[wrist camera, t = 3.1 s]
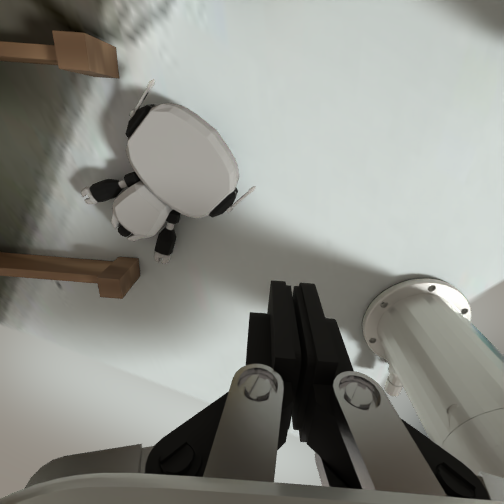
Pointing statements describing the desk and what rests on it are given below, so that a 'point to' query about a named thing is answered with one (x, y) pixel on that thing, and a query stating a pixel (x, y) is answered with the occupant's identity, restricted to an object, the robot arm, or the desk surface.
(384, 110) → the desk surface
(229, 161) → the robot toy
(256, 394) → the robot arm
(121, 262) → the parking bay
